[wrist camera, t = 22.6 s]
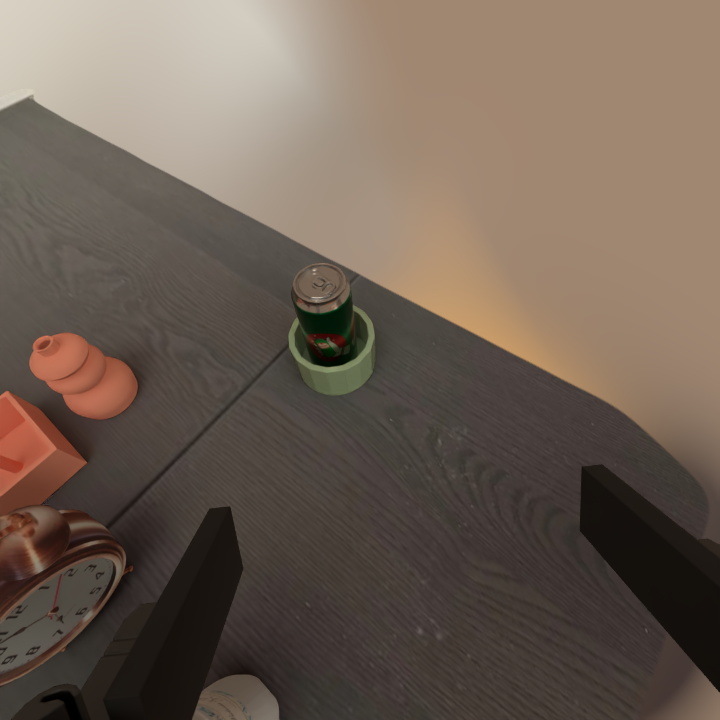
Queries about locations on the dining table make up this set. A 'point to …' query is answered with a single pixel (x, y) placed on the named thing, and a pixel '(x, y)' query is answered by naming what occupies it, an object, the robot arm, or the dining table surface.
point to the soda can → (325, 314)
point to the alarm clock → (51, 582)
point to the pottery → (38, 434)
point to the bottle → (237, 700)
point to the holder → (336, 377)
